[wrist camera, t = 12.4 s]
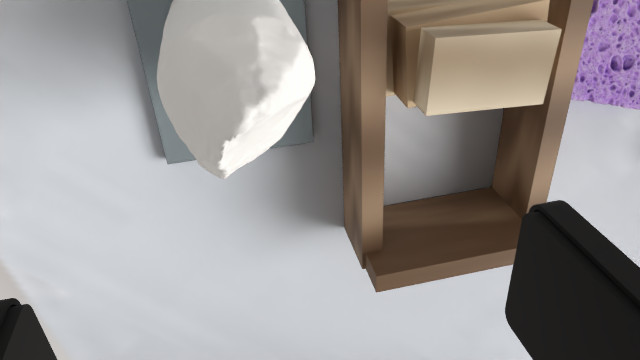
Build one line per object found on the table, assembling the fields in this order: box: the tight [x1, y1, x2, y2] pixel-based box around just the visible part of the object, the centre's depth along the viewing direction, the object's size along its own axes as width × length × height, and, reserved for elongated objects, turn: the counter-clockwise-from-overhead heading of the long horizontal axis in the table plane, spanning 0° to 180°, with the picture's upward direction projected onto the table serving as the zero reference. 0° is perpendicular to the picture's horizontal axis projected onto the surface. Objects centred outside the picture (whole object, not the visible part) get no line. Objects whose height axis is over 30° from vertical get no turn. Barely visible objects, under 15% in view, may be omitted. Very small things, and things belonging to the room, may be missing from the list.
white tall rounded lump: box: [157, 0, 315, 179], centre depth 20 cm, size 6×12×6 cm
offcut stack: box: [386, 0, 562, 116], centre depth 25 cm, size 5×8×6 cm, turn 93°
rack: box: [338, 0, 594, 292], centre depth 28 cm, size 16×11×6 cm
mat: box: [127, 0, 313, 164], centre depth 25 cm, size 14×8×1 cm, turn 3°
